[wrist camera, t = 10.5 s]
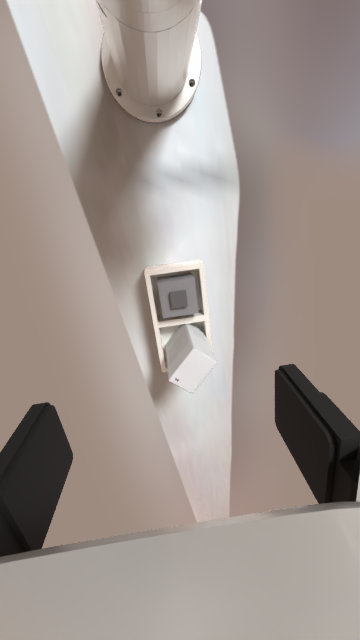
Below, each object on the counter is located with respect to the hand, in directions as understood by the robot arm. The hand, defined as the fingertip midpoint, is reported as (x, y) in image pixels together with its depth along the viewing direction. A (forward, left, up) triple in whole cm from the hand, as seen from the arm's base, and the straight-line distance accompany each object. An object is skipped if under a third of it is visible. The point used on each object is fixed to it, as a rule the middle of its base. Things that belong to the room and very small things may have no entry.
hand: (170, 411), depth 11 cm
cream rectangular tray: (+8, +2, -35) cm, 36 cm away
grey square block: (+3, +2, -34) cm, 34 cm away
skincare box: (+12, +2, -34) cm, 36 cm away
